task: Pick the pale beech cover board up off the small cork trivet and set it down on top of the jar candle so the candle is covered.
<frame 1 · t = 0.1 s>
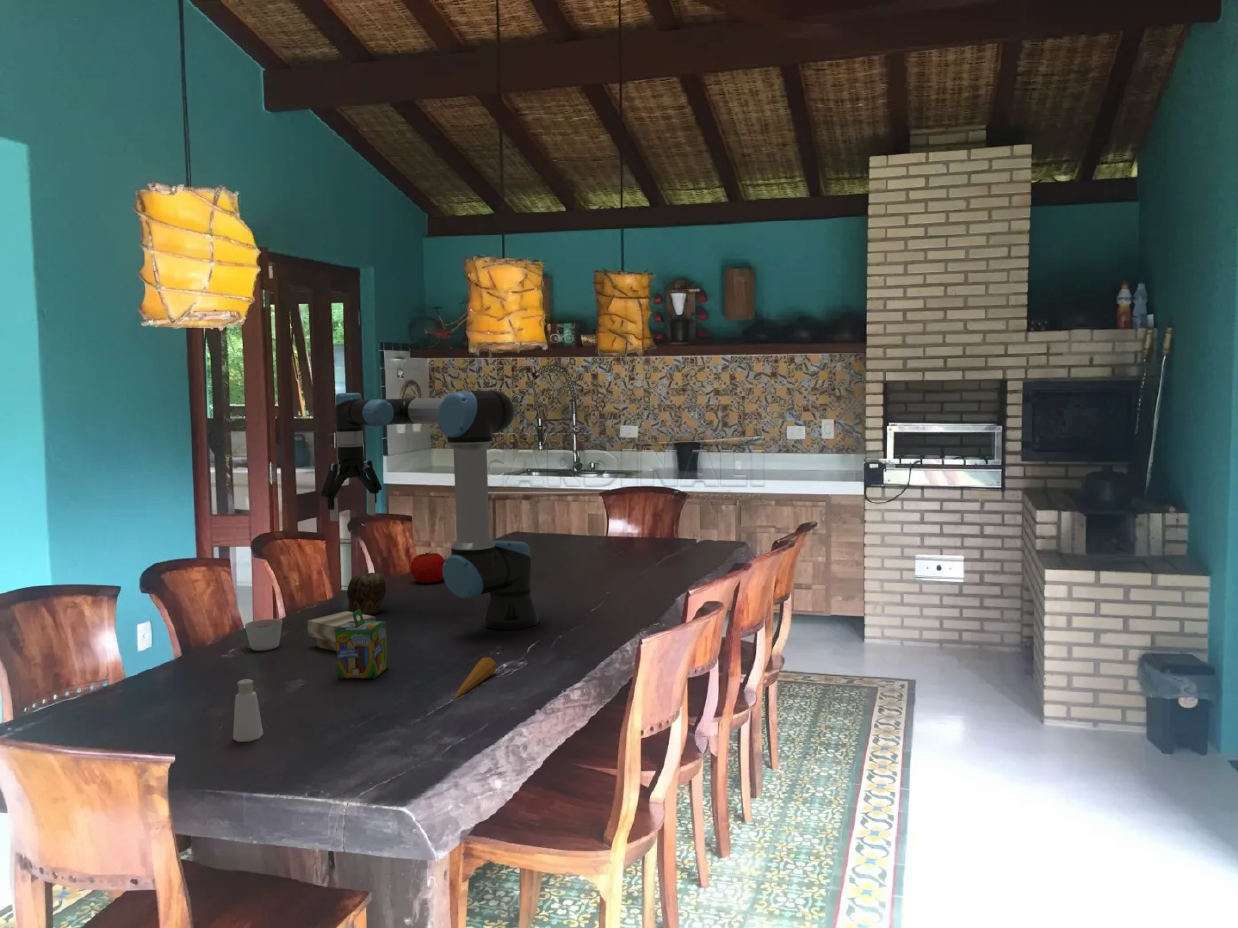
hand: (353, 517, 284), 28 cm above the table, fingers open, 13 cm apart
chalk box: (363, 674, 225), on the table
carrot: (470, 687, 214), on the table
cover board: (342, 633, 249), point 3 cm above the table, touching trivet
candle: (265, 648, 249), on the table
trivet: (342, 645, 249), on the table
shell: (367, 613, 284), on the table
tomato: (428, 582, 327), on the table
salt shaker: (248, 737, 185), on the table
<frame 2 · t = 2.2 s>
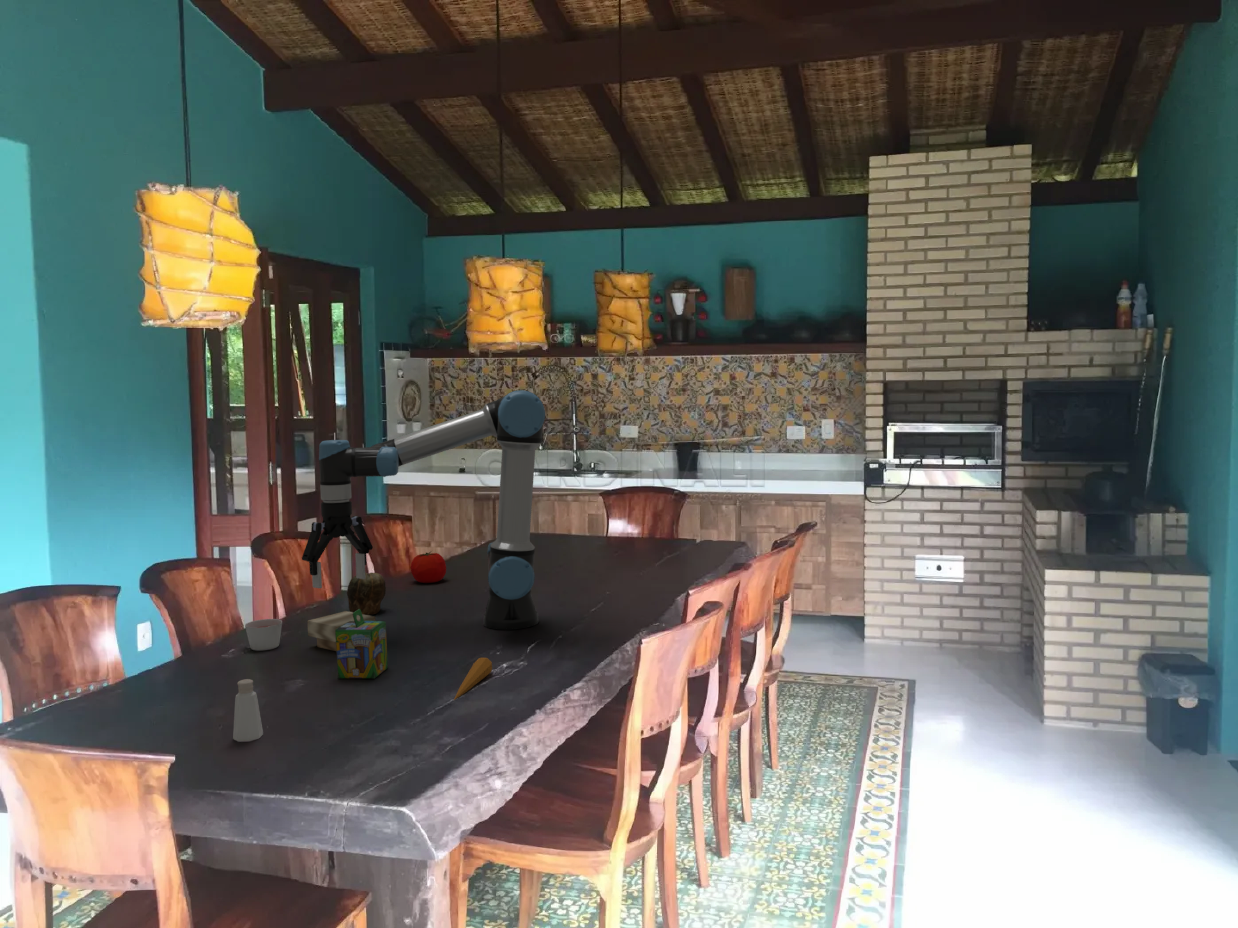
hand: (339, 582, 248), 16 cm above the table, fingers open, 13 cm apart
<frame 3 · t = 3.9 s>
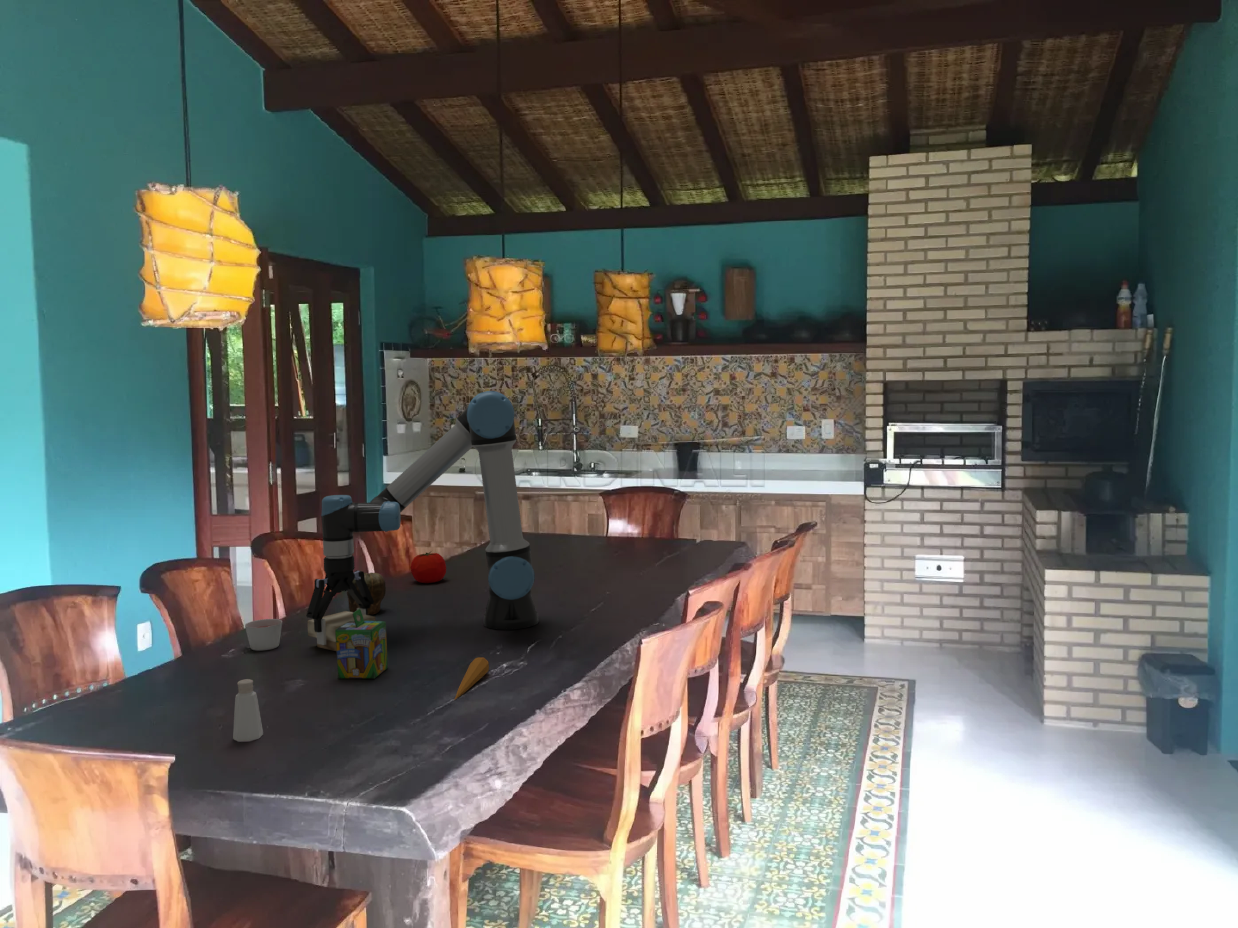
hand: (342, 638, 249), 2 cm above the table, fingers closed on cover board, 12 cm apart
cover board: (342, 633, 249), point 3 cm above the table, touching gripper, trivet
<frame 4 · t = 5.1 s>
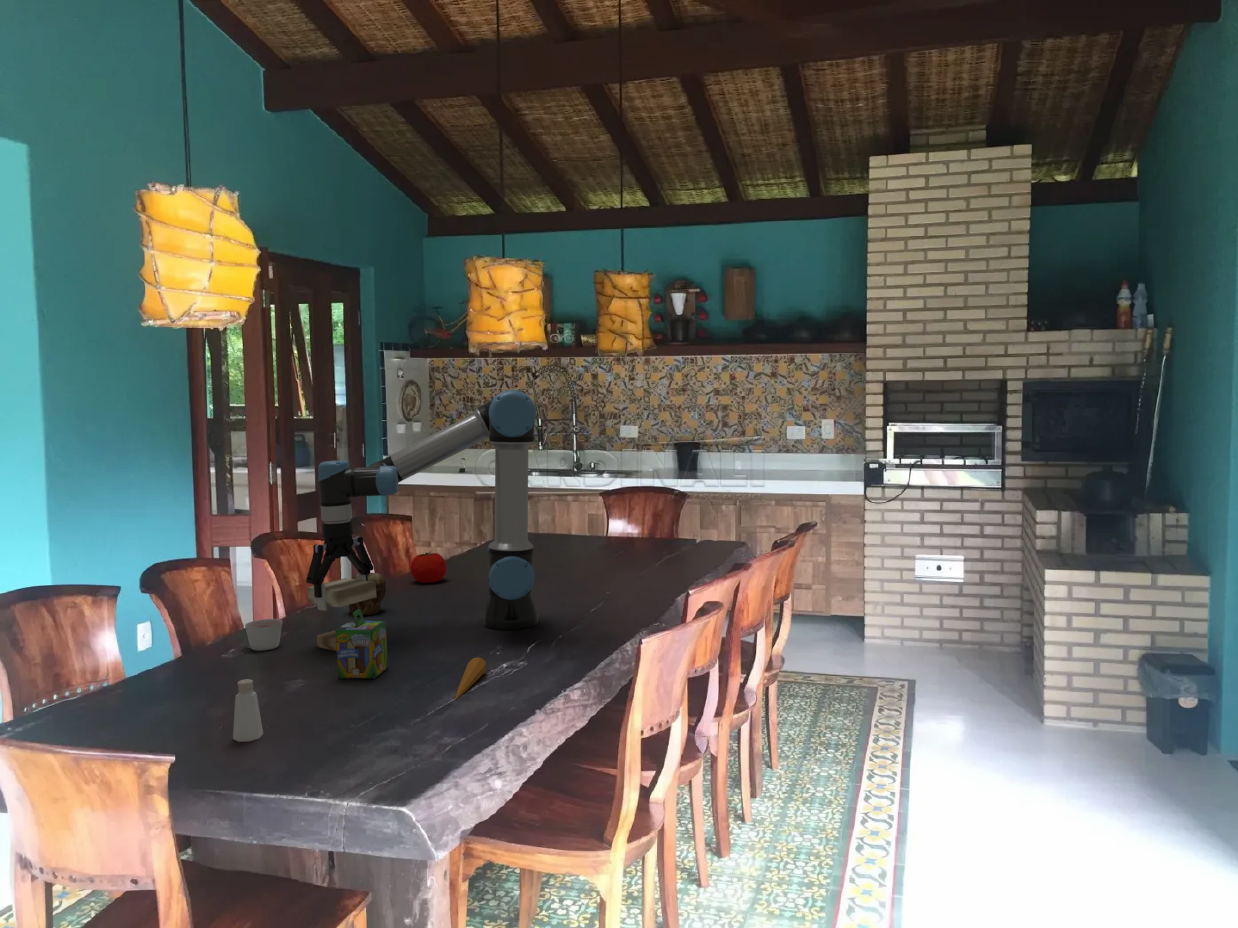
hand: (343, 604, 248), 11 cm above the table, fingers closed on cover board, 12 cm apart
cover board: (342, 599, 248), point 12 cm above the table, touching gripper
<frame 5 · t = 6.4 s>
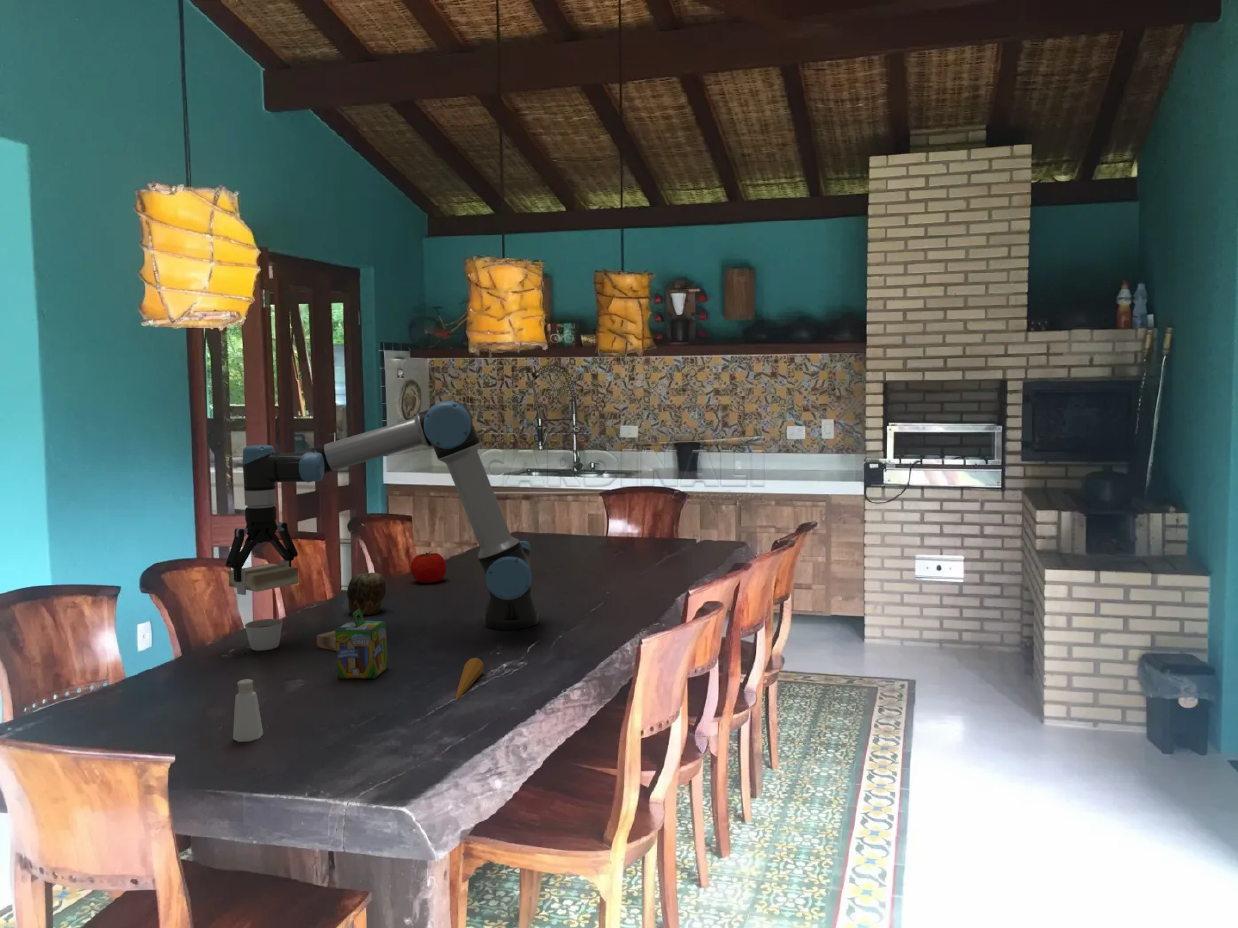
hand: (264, 589, 248), 15 cm above the table, fingers closed on cover board, 12 cm apart
cover board: (263, 584, 247), point 16 cm above the table, touching gripper
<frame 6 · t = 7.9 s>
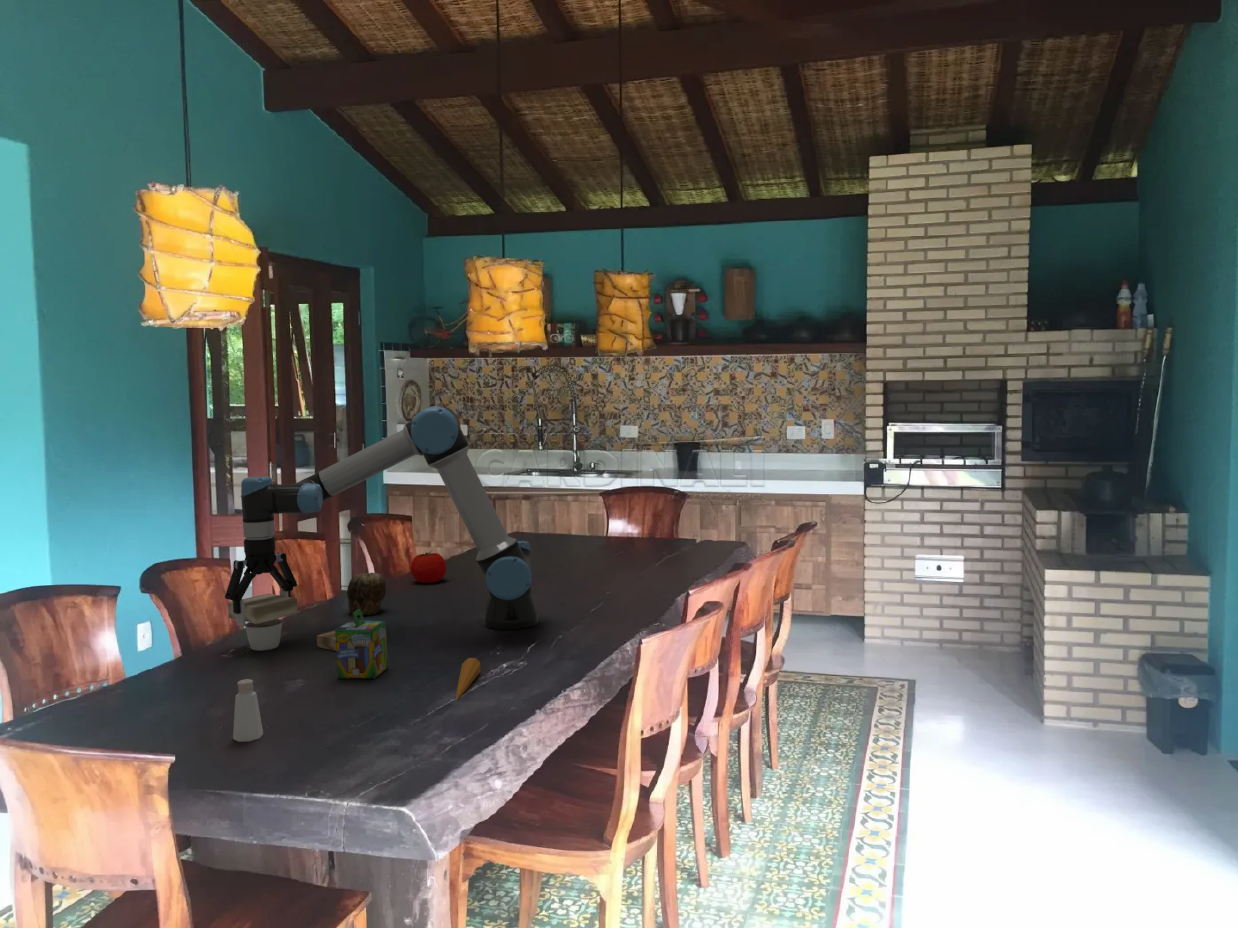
hand: (263, 620, 248), 7 cm above the table, fingers closed on cover board, 12 cm apart
cover board: (263, 615, 248), point 8 cm above the table, touching gripper
when the fingers open (7 cm above the table, at t = 8.5 s): cover board drops 2 cm, resting on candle.
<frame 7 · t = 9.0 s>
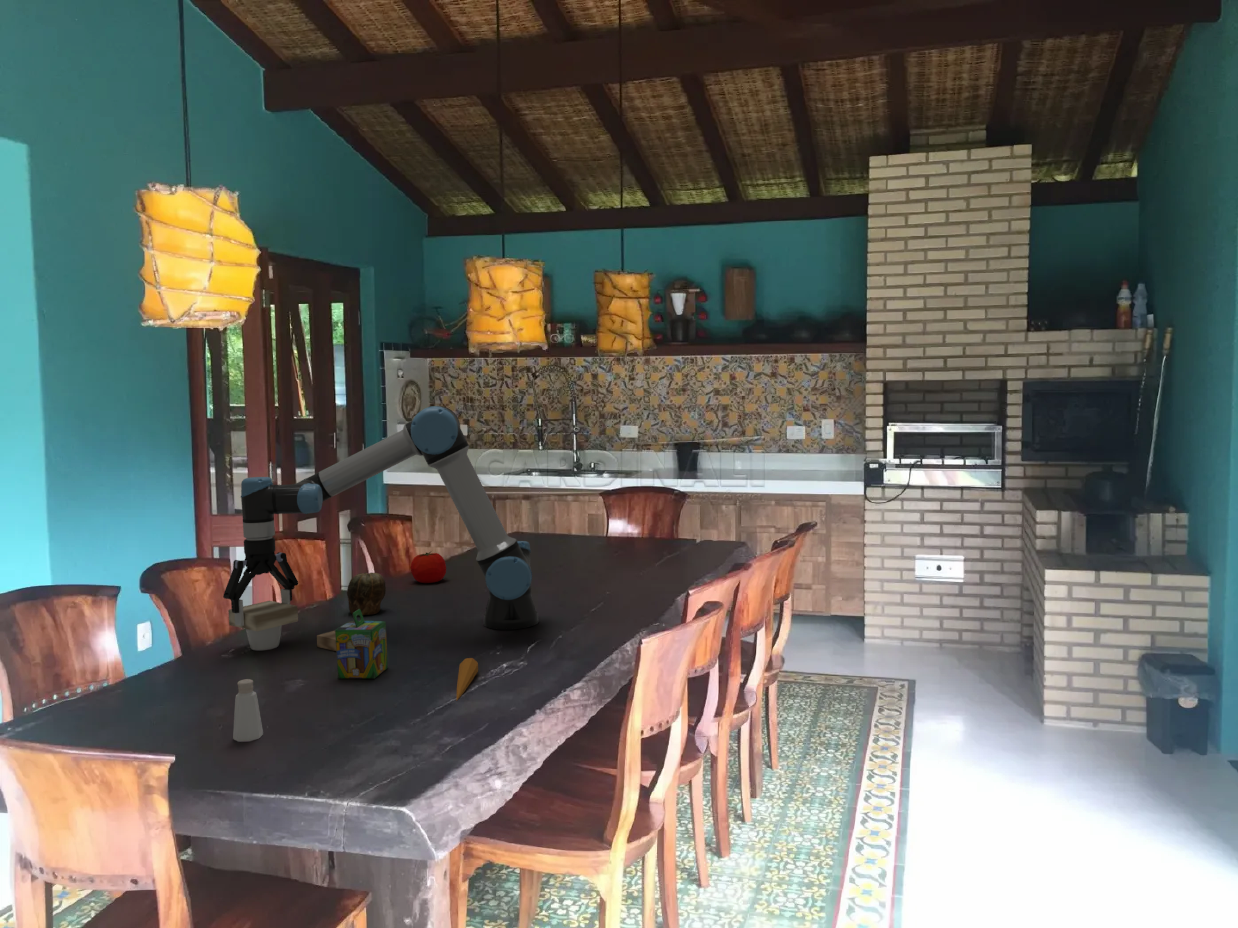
hand: (263, 619, 248), 7 cm above the table, fingers open, 13 cm apart
cover board: (263, 623, 248), point 6 cm above the table, touching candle
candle: (264, 647, 249), on the table, touching cover board
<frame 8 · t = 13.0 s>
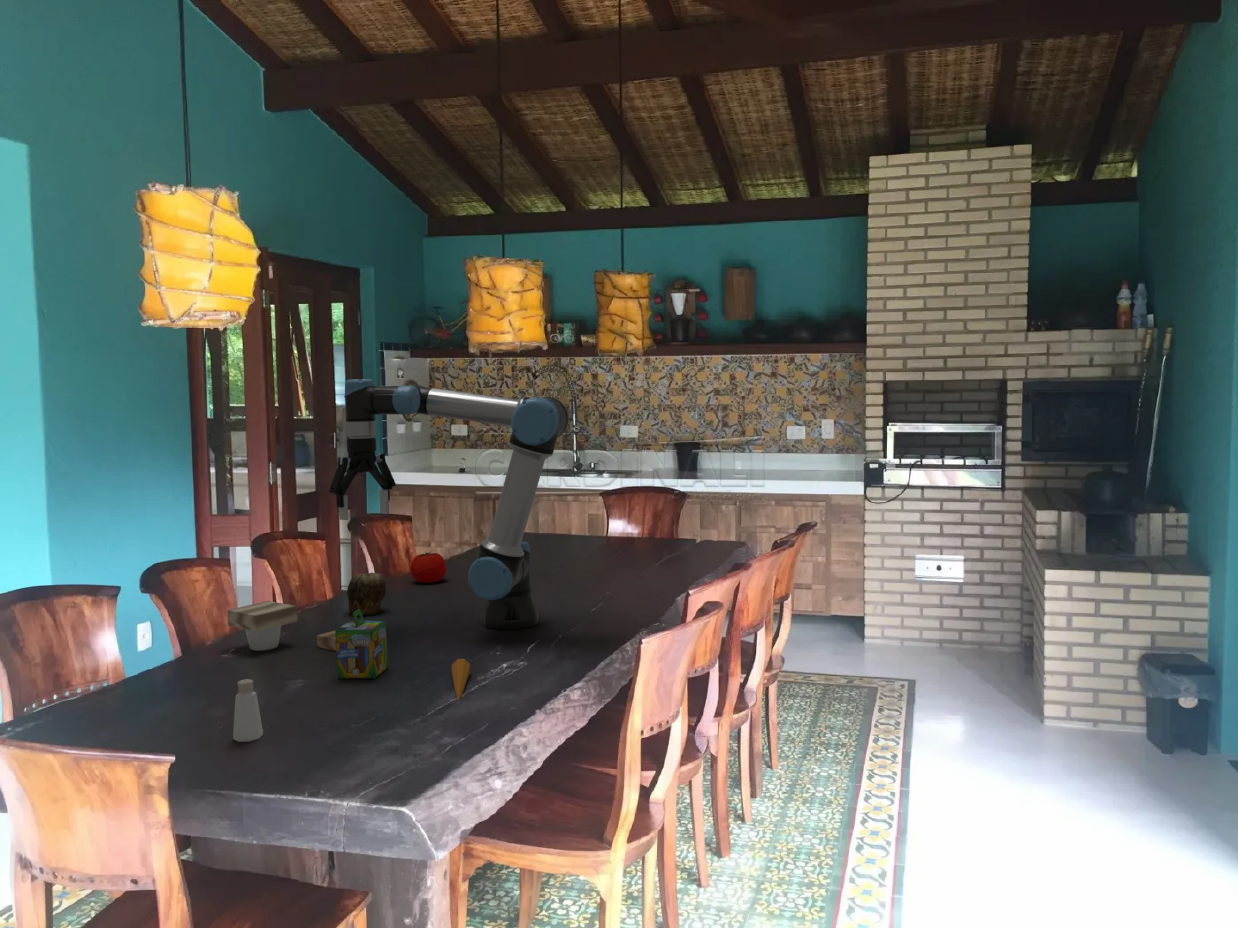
hand: (364, 516, 258), 32 cm above the table, fingers open, 13 cm apart
at the end: cover board inside the target area on the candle (0.1 cm from its centre), point 6.5 cm above the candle's base; cover board tilted 0°; the gripper is holding nothing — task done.
